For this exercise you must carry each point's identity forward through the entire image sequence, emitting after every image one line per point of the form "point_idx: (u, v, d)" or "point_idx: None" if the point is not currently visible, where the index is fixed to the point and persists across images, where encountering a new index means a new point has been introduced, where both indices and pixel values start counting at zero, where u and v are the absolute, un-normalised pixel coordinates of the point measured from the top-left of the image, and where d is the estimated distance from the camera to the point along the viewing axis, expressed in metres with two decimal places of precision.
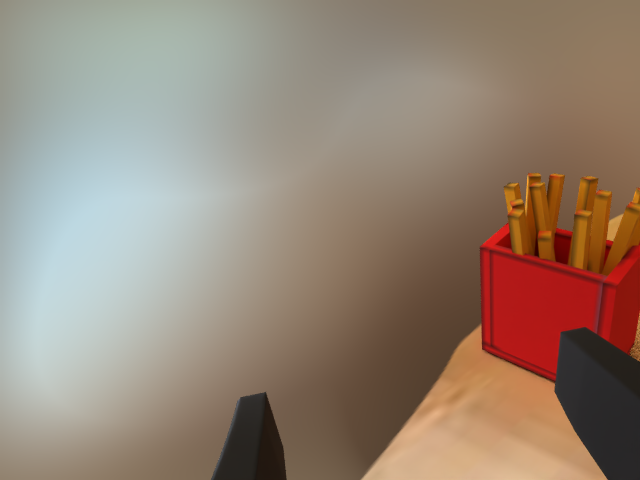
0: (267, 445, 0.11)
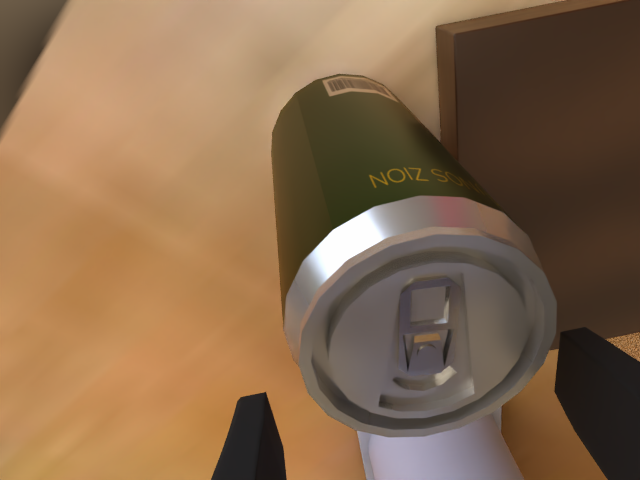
0: (267, 445, 0.11)
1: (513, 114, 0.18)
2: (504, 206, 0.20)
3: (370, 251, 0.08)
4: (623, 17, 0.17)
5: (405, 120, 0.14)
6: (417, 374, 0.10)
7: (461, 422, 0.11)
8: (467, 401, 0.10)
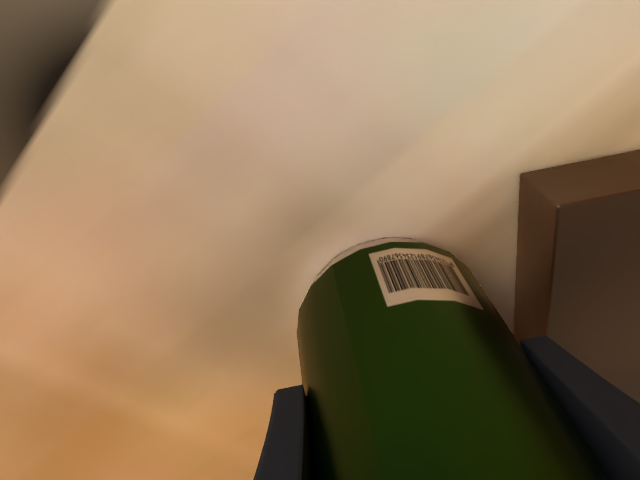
0: (308, 437, 0.11)
1: (625, 294, 0.13)
2: None
3: None
4: None
5: (516, 393, 0.09)
6: None
7: None
8: None
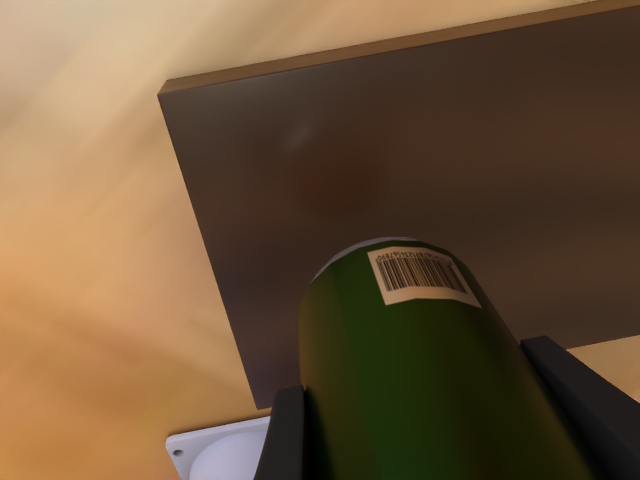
0: (308, 437, 0.11)
1: (242, 171, 0.18)
2: (256, 257, 0.20)
3: None
4: (332, 78, 0.17)
5: (514, 392, 0.09)
6: None
7: None
8: None
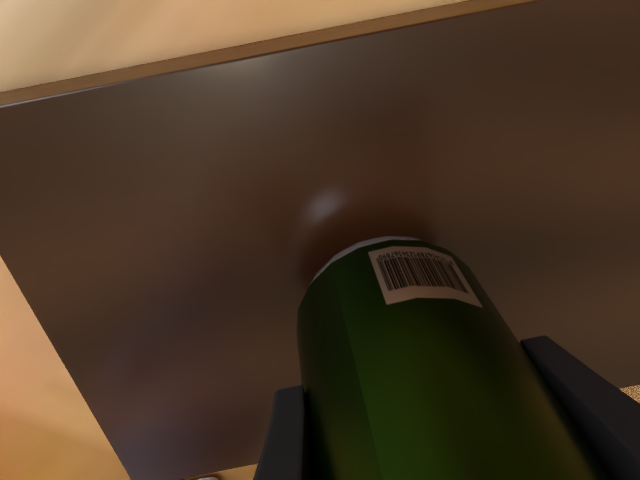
0: (307, 437, 0.11)
1: (59, 215, 0.14)
2: (99, 318, 0.16)
3: None
4: (158, 97, 0.13)
5: (515, 391, 0.09)
6: None
7: None
8: None
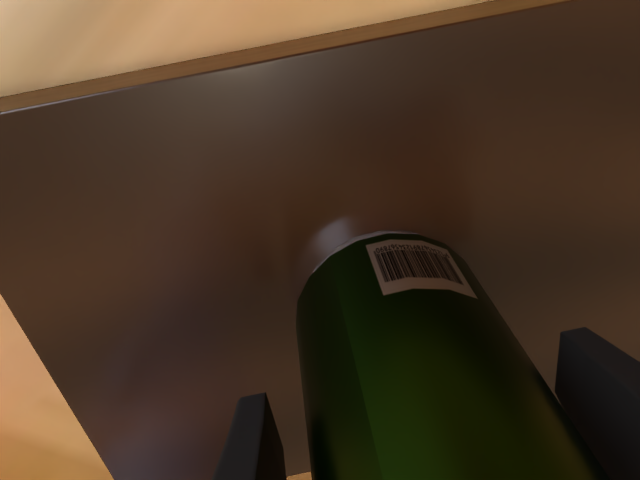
0: (267, 445, 0.11)
1: (48, 230, 0.13)
2: (92, 336, 0.15)
3: None
4: (152, 106, 0.12)
5: (508, 377, 0.09)
6: None
7: None
8: None
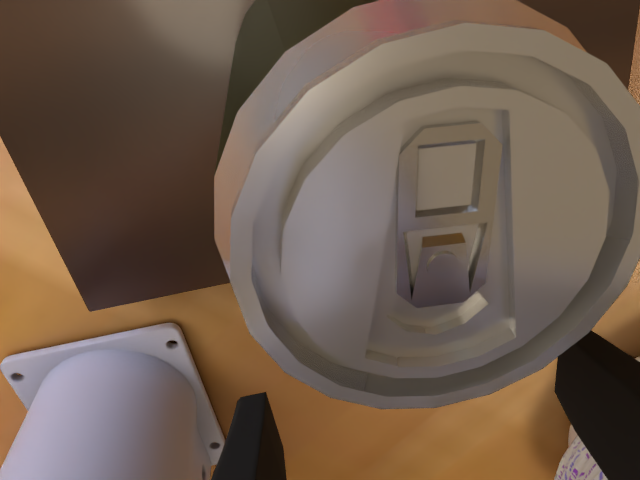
0: (267, 445, 0.11)
1: None
2: (40, 90, 0.16)
3: (345, 63, 0.05)
4: None
5: None
6: (426, 304, 0.06)
7: (494, 386, 0.07)
8: (504, 350, 0.07)
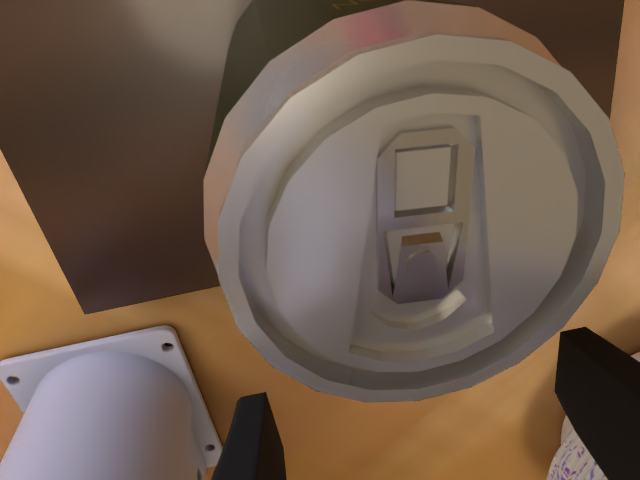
0: (267, 445, 0.11)
1: None
2: (35, 96, 0.16)
3: (326, 71, 0.05)
4: None
5: None
6: (407, 301, 0.07)
7: (474, 379, 0.07)
8: (483, 345, 0.07)
